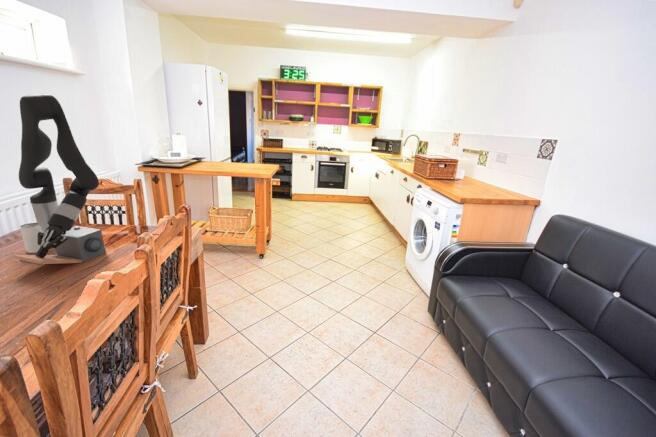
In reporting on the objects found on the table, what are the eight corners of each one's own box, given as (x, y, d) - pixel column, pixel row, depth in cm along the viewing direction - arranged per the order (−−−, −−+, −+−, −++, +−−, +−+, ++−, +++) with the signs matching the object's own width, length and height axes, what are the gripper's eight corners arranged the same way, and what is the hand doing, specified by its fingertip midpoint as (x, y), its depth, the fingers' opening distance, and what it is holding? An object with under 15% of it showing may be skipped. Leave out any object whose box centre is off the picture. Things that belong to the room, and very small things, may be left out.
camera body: (109, 253, 131) (104, 228, 128) (87, 263, 122) (80, 237, 118) (81, 248, 135) (75, 224, 131) (57, 257, 126) (50, 232, 122)
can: (34, 254, 128) (26, 228, 124) (23, 252, 129) (14, 226, 125) (50, 248, 134) (43, 223, 130) (39, 246, 135) (31, 221, 131)
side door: (82, 259, 122) (41, 260, 108) (81, 264, 122) (40, 266, 108) (57, 254, 125) (13, 254, 111) (56, 259, 125) (12, 260, 111)
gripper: (43, 211, 118) (16, 251, 111) (68, 214, 115) (42, 256, 108) (61, 219, 125) (36, 258, 118) (85, 222, 122) (62, 262, 115)
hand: (39, 257), depth 113 cm, fingers closed
